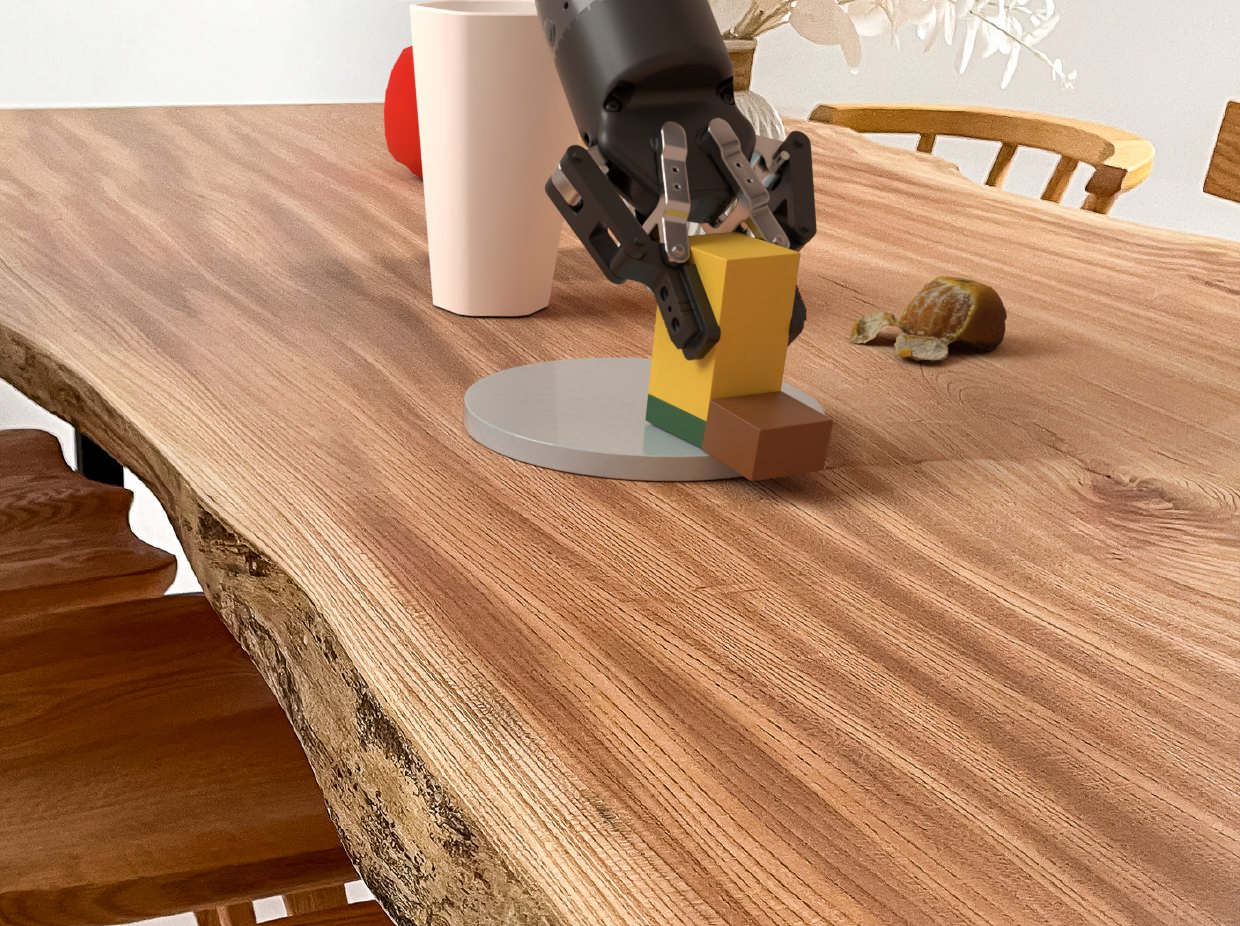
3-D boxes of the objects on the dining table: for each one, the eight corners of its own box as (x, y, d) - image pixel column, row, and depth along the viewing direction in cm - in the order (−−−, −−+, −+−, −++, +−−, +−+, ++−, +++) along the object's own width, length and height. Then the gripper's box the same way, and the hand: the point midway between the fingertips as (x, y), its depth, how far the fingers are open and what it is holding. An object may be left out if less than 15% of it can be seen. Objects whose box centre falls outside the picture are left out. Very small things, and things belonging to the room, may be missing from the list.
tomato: (378, 188, 149) (380, 51, 144) (386, 163, 161) (389, 35, 155) (539, 191, 148) (547, 53, 143) (537, 166, 160) (544, 37, 154)
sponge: (644, 420, 86) (663, 237, 81) (713, 411, 87) (735, 231, 83) (703, 450, 82) (726, 259, 77) (774, 440, 83) (801, 252, 79)
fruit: (833, 333, 106) (843, 270, 104) (950, 324, 109) (962, 262, 107) (914, 368, 100) (925, 301, 98) (1037, 357, 102) (1050, 291, 100)
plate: (766, 377, 98) (769, 355, 97) (870, 479, 82) (874, 453, 82) (444, 380, 97) (444, 358, 96) (488, 484, 81) (489, 458, 81)
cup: (404, 323, 108) (412, 12, 99) (400, 286, 117) (407, -3, 108) (586, 324, 108) (610, 13, 99) (569, 288, 117) (590, -1, 108)
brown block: (771, 440, 83) (781, 390, 82) (823, 471, 80) (834, 419, 79) (700, 450, 82) (709, 399, 80) (751, 481, 79) (760, 430, 78)
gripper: (528, -29, 78) (653, 313, 75) (792, -36, 83) (919, 284, 80) (466, 89, 85) (578, 406, 82) (714, 76, 90) (828, 374, 87)
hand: (746, 343), depth 81 cm, fingers closed on sponge, 4 cm apart
